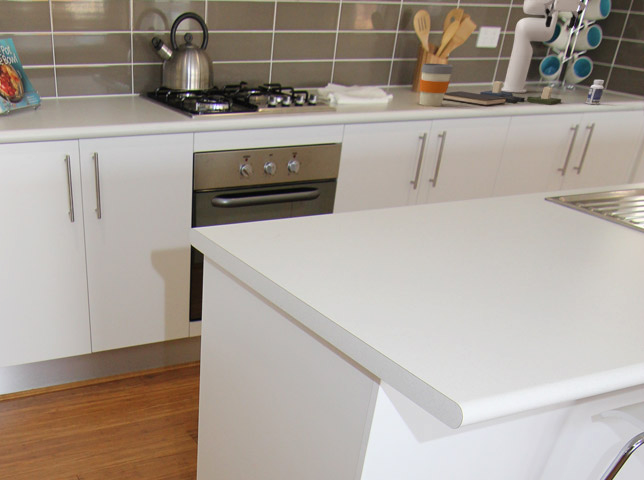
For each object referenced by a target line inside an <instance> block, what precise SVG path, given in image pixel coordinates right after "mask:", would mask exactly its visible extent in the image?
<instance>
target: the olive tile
mask: <svg viewBox="0 0 644 480" xmlns="http://www.w3.org/2000/svg"><path fill="white" fill-rule="evenodd" d="M553 90H554V87H549V86H544V87H543V90H542V94H541V95H540V96H527V99H526V101H528V103H534V104H542V105H549V106H551V105H555V104H560V103H562V98H556V97H552V94H553Z"/></svg>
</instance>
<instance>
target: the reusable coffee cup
mask: <svg viewBox="0 0 644 480" xmlns="http://www.w3.org/2000/svg"><path fill="white" fill-rule="evenodd" d="M453 68H454V65H452V64H446V63H445V64H444V63H432V62H431V63H429V62H428V63H423V64H422V67H421V71H420V72H421V78H420V79H419V105H422V106H427V107H428V106H429V107H441V106H442V104H443V100H444V99H443V98H444V94H445V93H447V91H448V88H449V85H450V82H451V81H450V78H451V75H452V74H453Z"/></svg>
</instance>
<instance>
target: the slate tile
mask: <svg viewBox="0 0 644 480" xmlns="http://www.w3.org/2000/svg"><path fill="white" fill-rule="evenodd" d="M503 86H504V82H503V81H497V80H495V81H493V85H492V90H485V91H480V92H479V94H483V95H490V96H498V97H500V96H501V95H507V96H514V93H513V92H504V91H501V89H502V87H503Z"/></svg>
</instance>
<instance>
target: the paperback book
mask: <svg viewBox="0 0 644 480" xmlns="http://www.w3.org/2000/svg"><path fill="white" fill-rule="evenodd" d="M443 100H446V101H452V102H460V103H464V104H472V105H478V106H484V107H486V106H495V105H505V104H506V103H507V102H506V98H504V97H497V96H490V95H483V94H480V93H476V92H468V91H463V90H461V91H449V92H446V93H445V94H444V98H443Z"/></svg>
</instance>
